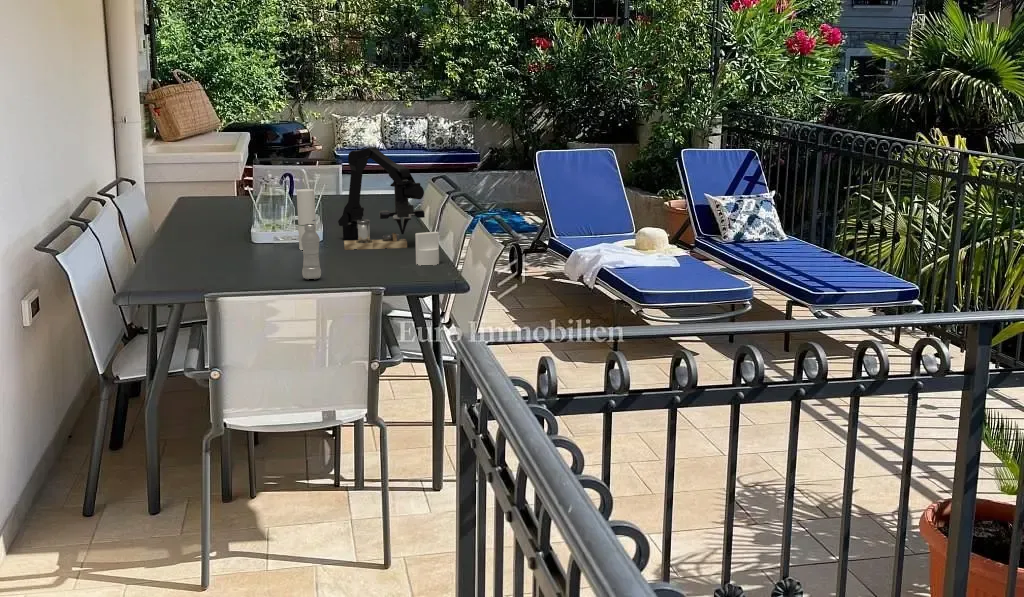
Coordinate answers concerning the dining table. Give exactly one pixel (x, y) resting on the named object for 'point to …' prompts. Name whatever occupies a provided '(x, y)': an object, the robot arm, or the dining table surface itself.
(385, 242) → the dock
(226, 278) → the dining table surface
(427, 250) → the base with upright slab
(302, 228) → the cylindrical container
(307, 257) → the plastic bottle
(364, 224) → the grey metallic cylinder
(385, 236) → the lock pin
